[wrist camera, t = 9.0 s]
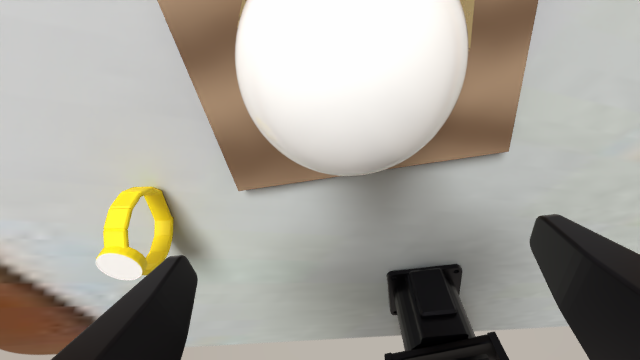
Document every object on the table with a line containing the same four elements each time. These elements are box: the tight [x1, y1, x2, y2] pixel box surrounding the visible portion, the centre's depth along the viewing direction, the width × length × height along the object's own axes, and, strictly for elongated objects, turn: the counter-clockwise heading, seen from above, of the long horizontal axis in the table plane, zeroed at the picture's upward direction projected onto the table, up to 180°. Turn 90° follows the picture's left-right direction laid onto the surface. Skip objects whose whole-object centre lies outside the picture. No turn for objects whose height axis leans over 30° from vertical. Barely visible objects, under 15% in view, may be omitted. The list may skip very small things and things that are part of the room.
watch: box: [96, 187, 174, 280], centre depth 22 cm, size 6×3×6 cm, turn 2°
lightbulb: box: [235, 0, 469, 176], centre depth 11 cm, size 6×6×11 cm
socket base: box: [157, 0, 538, 191], centre depth 16 cm, size 18×18×1 cm
